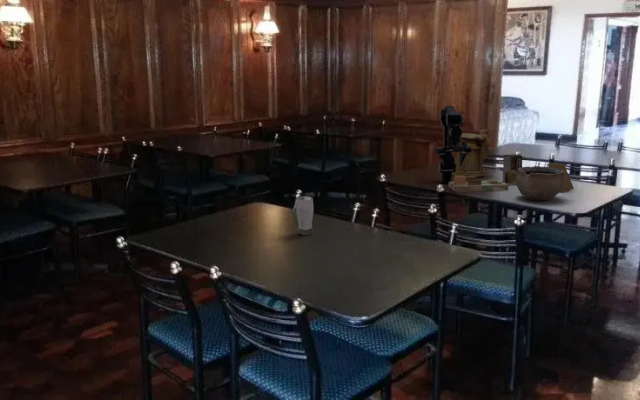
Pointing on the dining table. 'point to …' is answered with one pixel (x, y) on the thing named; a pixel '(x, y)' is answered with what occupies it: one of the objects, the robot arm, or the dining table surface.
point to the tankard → (472, 156)
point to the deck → (478, 185)
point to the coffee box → (511, 168)
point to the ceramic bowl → (539, 182)
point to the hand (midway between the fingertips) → (452, 166)
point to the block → (460, 180)
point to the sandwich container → (566, 179)
